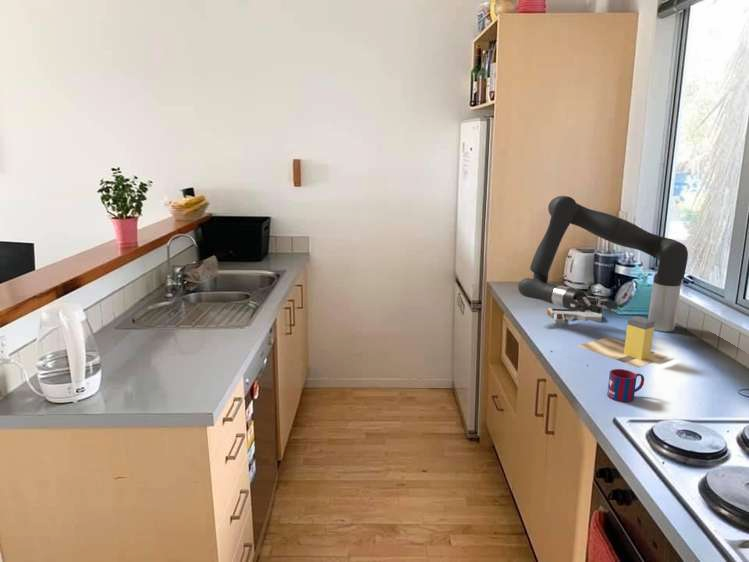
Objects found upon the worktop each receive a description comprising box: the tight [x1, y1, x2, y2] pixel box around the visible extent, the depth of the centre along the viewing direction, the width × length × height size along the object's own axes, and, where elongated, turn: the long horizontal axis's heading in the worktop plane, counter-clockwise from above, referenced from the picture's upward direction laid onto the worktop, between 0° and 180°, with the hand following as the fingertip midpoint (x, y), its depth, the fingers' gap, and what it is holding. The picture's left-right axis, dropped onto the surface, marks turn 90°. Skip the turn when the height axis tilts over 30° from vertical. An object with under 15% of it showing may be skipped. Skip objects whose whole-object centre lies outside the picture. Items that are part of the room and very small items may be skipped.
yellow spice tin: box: [624, 315, 655, 360], centre depth 186 cm, size 5×6×12 cm
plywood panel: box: [577, 336, 669, 368], centre depth 191 cm, size 17×22×1 cm
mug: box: [606, 368, 645, 403], centre depth 159 cm, size 7×10×7 cm
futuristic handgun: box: [546, 307, 603, 325], centre depth 228 cm, size 3×20×15 cm
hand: (609, 308), depth 195 cm, fingers open, 8 cm apart
